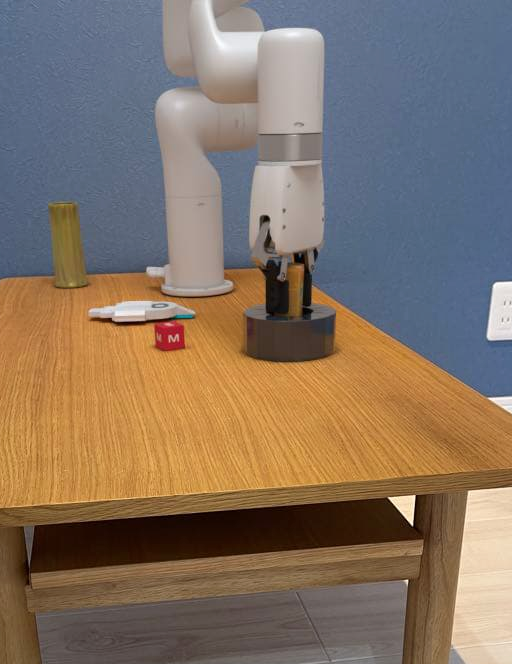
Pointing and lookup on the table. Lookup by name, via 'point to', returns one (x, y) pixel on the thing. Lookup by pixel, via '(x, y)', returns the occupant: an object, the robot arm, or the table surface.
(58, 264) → the vase
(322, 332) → the tape roll
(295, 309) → the supplement box
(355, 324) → the table surface
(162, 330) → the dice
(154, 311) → the toy rocket
